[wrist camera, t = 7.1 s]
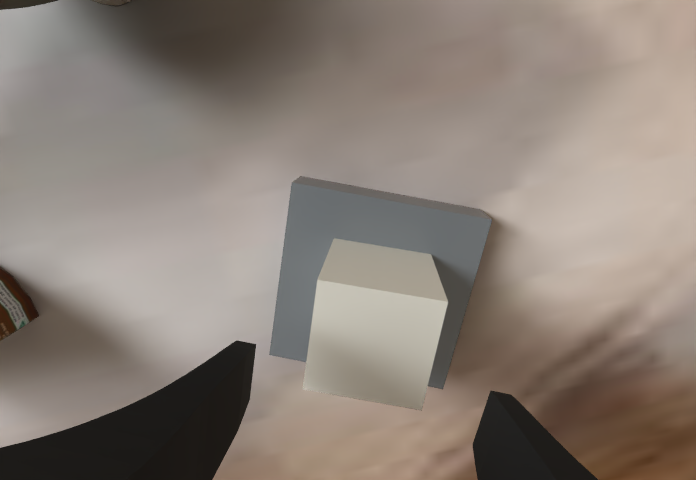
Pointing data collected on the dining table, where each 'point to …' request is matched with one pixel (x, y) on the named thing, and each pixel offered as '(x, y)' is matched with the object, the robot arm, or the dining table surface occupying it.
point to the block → (375, 324)
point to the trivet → (377, 229)
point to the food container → (14, 306)
